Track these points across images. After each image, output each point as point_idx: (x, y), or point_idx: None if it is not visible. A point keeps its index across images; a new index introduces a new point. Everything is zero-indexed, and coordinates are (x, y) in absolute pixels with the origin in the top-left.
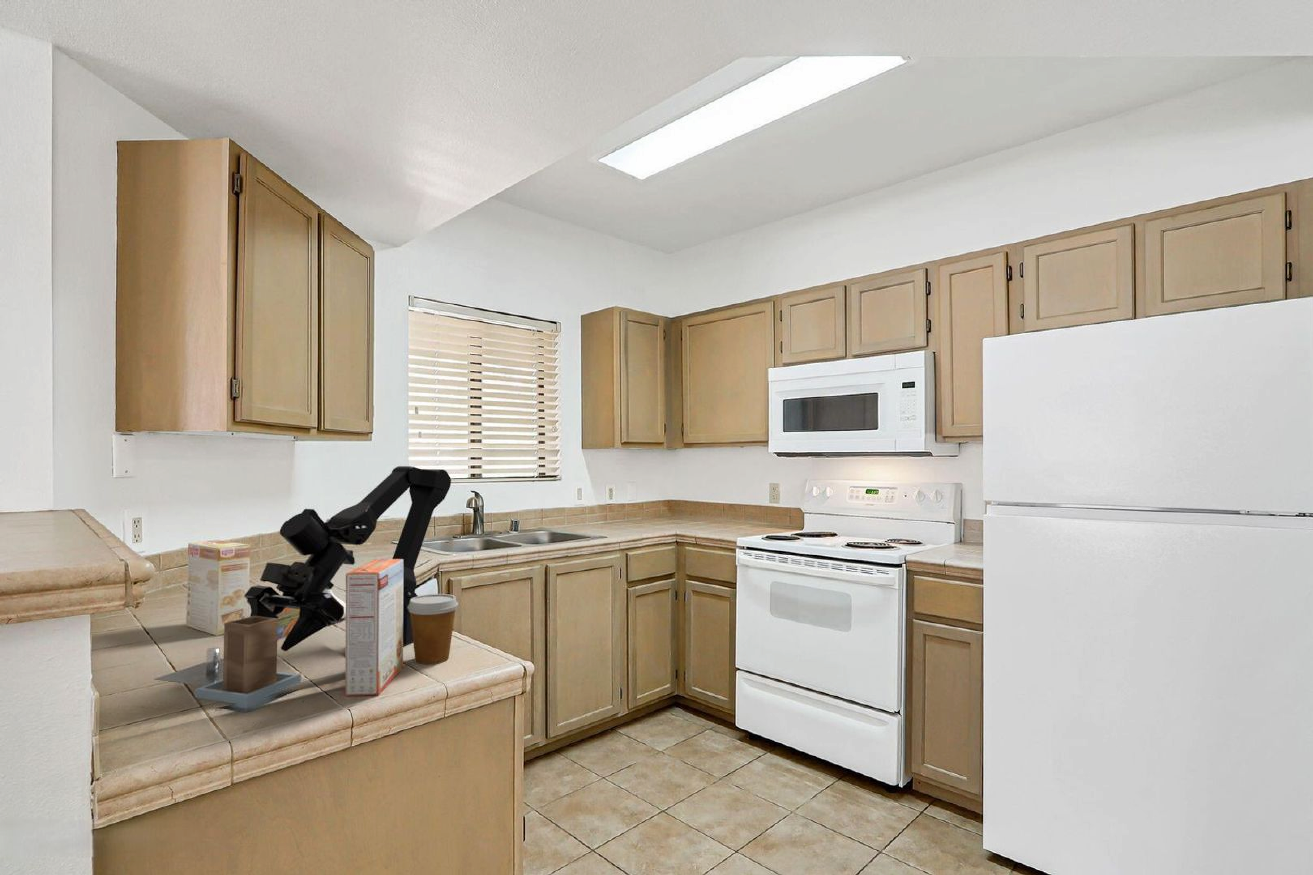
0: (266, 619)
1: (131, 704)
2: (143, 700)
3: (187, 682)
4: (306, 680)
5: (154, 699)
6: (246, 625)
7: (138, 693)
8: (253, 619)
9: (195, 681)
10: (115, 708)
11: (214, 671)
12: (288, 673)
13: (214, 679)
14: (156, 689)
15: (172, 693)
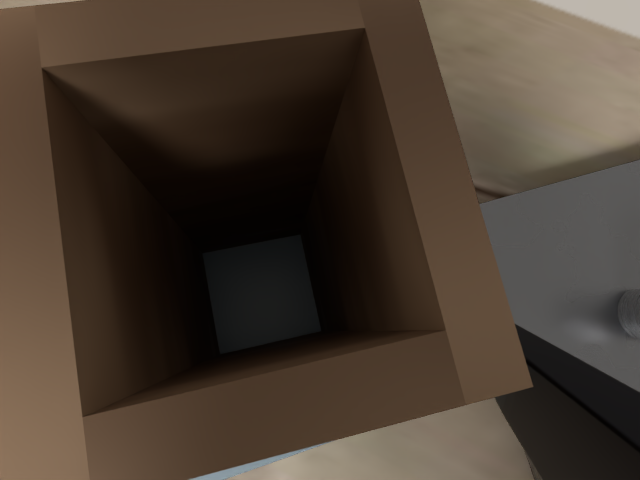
0: (176, 396)
1: (525, 42)
2: (538, 75)
3: (561, 190)
4: None
5: (521, 97)
6: (39, 33)
7: (625, 96)
8: (428, 324)
9: (551, 213)
10: (523, 5)
11: (621, 310)
12: (218, 473)
13: (521, 268)
14: (627, 144)
15: (540, 154)
